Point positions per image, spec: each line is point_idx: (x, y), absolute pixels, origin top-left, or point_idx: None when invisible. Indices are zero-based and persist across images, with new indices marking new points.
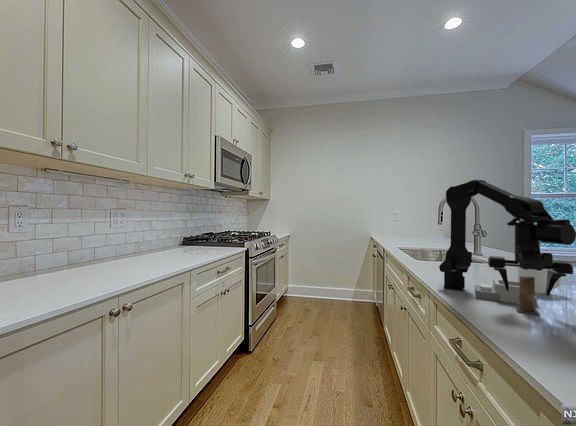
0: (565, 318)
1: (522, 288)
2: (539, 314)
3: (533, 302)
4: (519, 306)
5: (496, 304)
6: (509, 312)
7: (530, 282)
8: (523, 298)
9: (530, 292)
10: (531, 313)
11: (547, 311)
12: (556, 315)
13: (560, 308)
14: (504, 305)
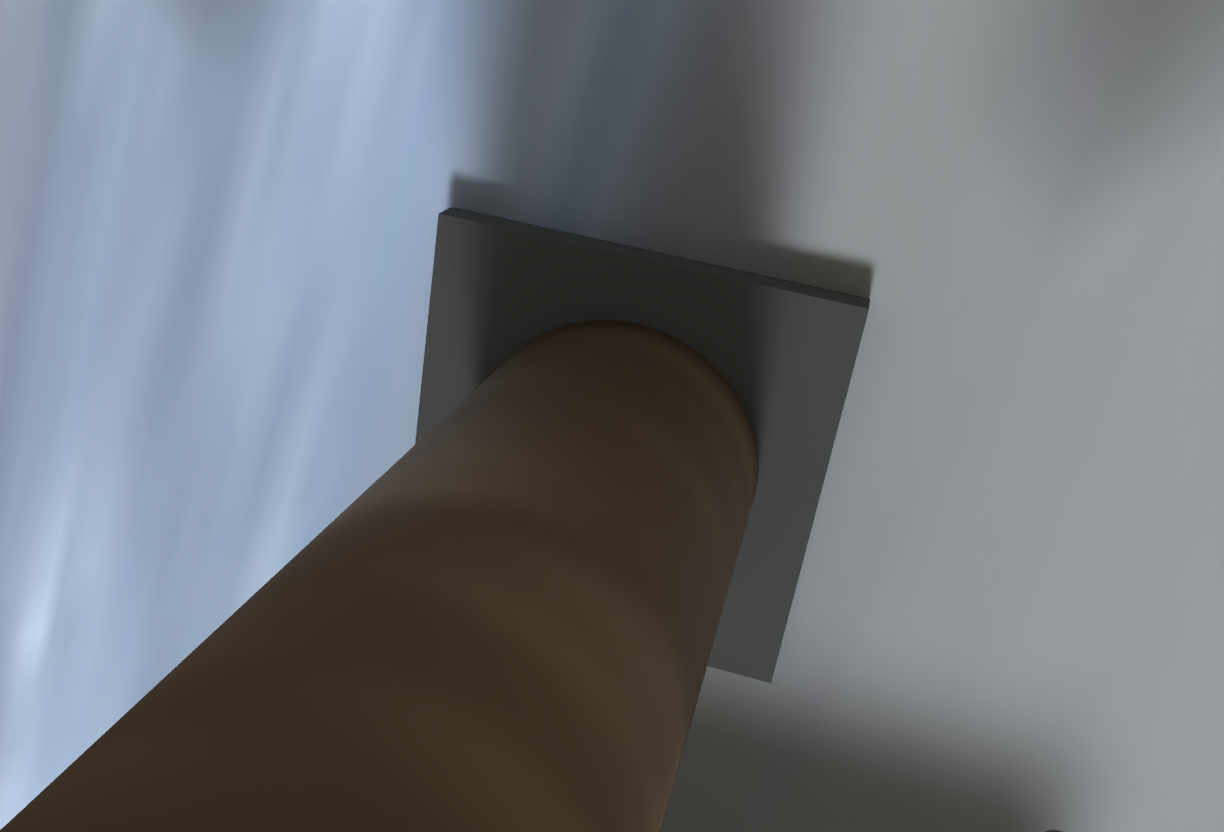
0: (44, 199)
1: (592, 716)
2: (450, 216)
3: (433, 433)
4: (749, 512)
5: (1129, 794)
6: (1096, 221)
7: (118, 813)
8: (656, 493)
9: (384, 539)
10: (596, 243)
11: (233, 561)
12: (147, 348)
13: (4, 784)
14: (959, 758)
